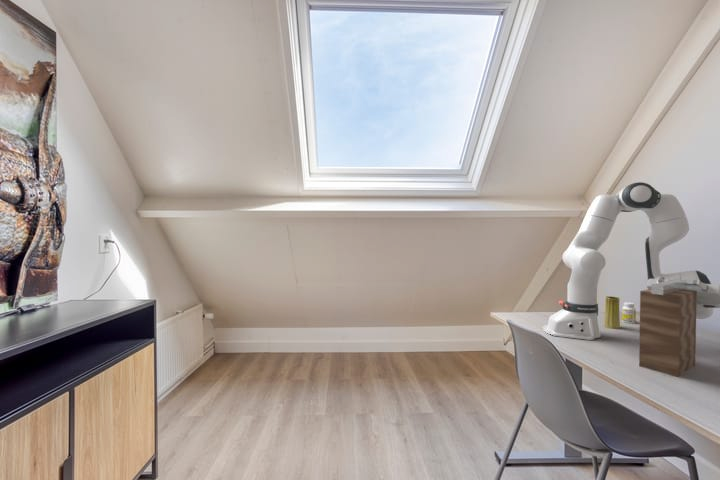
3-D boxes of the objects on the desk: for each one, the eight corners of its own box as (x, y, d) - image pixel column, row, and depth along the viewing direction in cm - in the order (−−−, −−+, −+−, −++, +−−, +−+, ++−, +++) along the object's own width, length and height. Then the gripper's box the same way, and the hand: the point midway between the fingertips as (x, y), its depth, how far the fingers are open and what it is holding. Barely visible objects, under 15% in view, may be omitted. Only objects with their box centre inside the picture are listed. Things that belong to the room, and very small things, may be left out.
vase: (623, 329, 153) (623, 299, 153) (608, 328, 154) (608, 298, 154) (615, 325, 159) (615, 296, 159) (601, 324, 160) (601, 296, 160)
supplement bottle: (627, 323, 162) (628, 304, 161) (619, 320, 167) (619, 302, 167) (638, 323, 162) (638, 304, 161) (629, 320, 167) (629, 301, 167)
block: (663, 295, 105) (663, 285, 105) (651, 293, 108) (651, 284, 107) (686, 288, 116) (686, 279, 116) (675, 286, 119) (675, 278, 119)
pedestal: (678, 377, 104) (679, 296, 103) (639, 366, 112) (640, 291, 112) (695, 365, 112) (696, 290, 111) (657, 356, 121) (658, 286, 120)
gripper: (654, 284, 131) (642, 269, 125) (730, 292, 114) (720, 275, 108) (651, 298, 130) (638, 284, 124) (727, 309, 112) (717, 292, 106)
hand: (677, 280), depth 115 cm, fingers open, 8 cm apart
